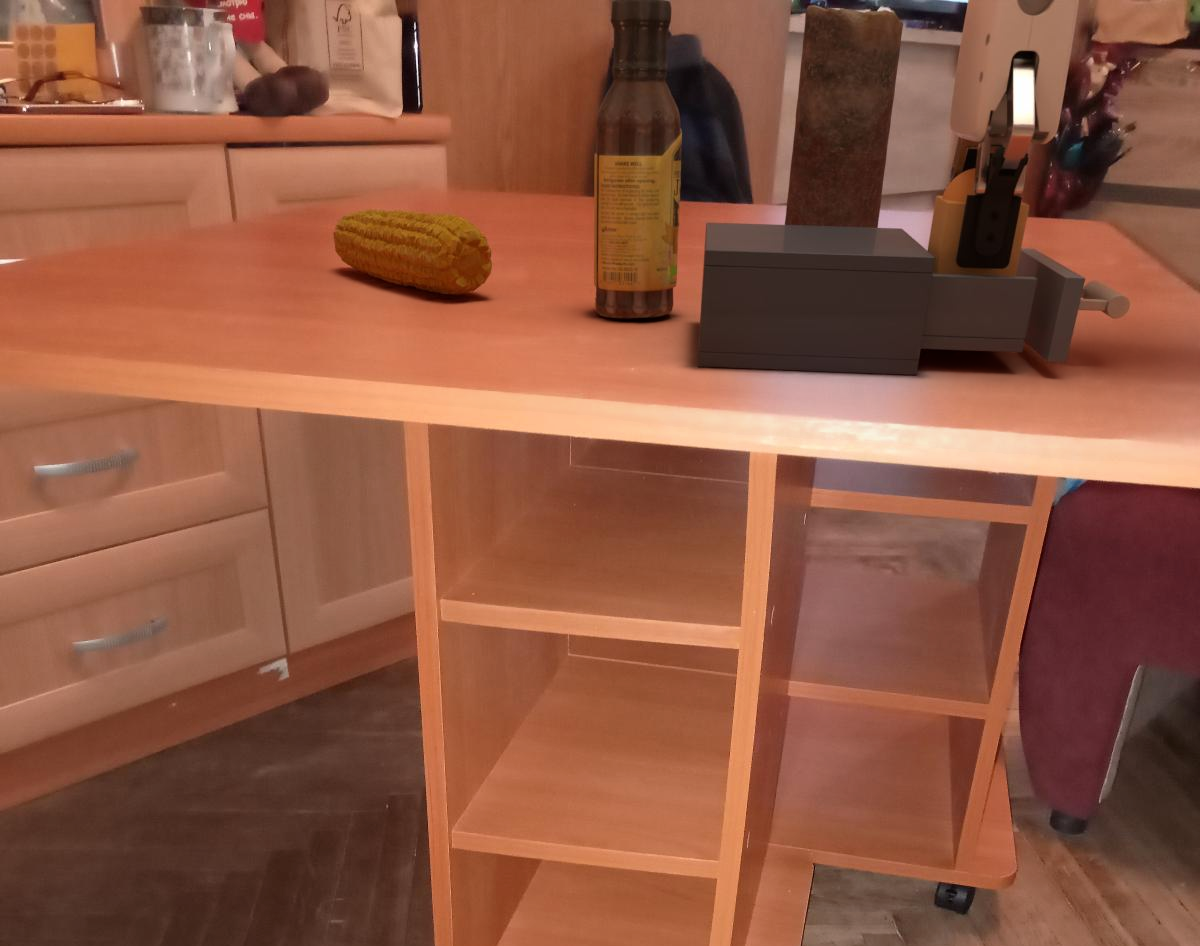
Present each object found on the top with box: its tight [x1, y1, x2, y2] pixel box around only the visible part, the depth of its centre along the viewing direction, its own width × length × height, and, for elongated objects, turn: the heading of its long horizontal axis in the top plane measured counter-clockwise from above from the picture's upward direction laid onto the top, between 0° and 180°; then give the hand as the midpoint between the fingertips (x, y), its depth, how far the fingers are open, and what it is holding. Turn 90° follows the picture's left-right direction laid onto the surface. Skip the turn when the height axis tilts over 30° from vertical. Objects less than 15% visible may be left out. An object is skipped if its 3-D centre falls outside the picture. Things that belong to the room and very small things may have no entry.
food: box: [332, 208, 493, 296], centre depth 96 cm, size 21×6×6 cm, turn 41°
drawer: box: [921, 247, 1131, 364], centre depth 76 cm, size 17×13×5 cm
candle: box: [784, 4, 904, 228], centre depth 88 cm, size 8×7×20 cm
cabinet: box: [697, 222, 935, 376], centre depth 77 cm, size 14×14×7 cm
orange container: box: [927, 168, 1030, 276], centre depth 75 cm, size 5×5×9 cm
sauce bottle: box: [593, 0, 683, 320], centre depth 83 cm, size 6×6×20 cm
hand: (971, 256), depth 75 cm, fingers open, 6 cm apart
